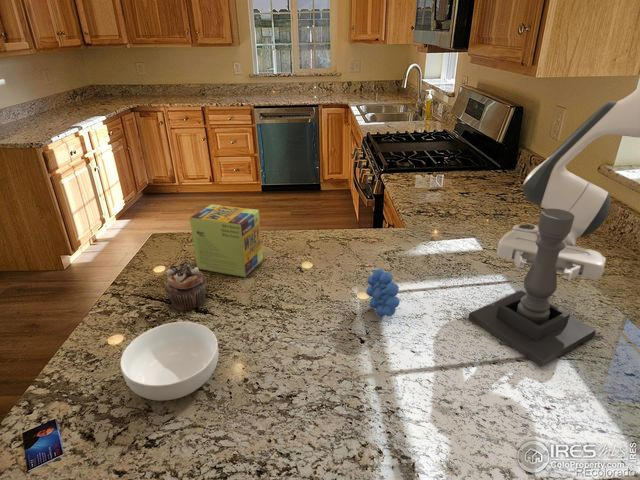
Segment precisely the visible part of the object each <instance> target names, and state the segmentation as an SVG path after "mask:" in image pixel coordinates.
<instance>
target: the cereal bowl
mask: <svg viewBox="0 0 640 480" xmlns="http://www.w3.org/2000/svg"><path fill="white" fill-rule="evenodd" d="M219 355H220V353H219V342H218V340H217V336H216V335H215V334H214V332H213V331H212V330H211V329H210V328H209V327H207V326H206V325H203V324H201V323H198V322H193V321H175V322H168V323H164V324H161V325H158V326H155V327H153V328H150V329H148V330H145V332H143V333H141V334H139V335H138V336H137V337H135V338H134V339H133V340H132V341H131V342H130V343H129V344H128V345H126V348H125V349H124V351H123V352H122V354H121V357H120V364H119V365H120V366H119V367H120V371H121V374H122V378H123V379H124V381H125V383H126V385H127V386H128V387H129V389H130V390H131V391H132V392H133V393H135V395H136V394H137V395H138V396H140V397H142V398H144V399H147V400H152V401H157V402H158V401H160V402H161V401H172V400H177V399H180V398H183V397H186V396H188V395H190V394H192V393H194V392H196V391H197V390H199V389H200V388H201V387H202V386H203V385H205V383H206V382H207V381H208V380H209V379H210V378H211V376H212V375H213V374H214V372H215V370H216V368H217V365H218V362H219Z"/></svg>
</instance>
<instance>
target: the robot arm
mask: <svg viewBox="0 0 640 480" xmlns="http://www.w3.org/2000/svg"><path fill="white" fill-rule="evenodd" d="M607 136H621V137H631V138H639V139H640V85H639V86H638V87H637V88H636V89H635V90H634V91H633V92H631V93H630V94H628V95H627V96H625V97H623V98H622V99H620V100H618V101H617V100H613V101H611V100H610V101H607V103H605V104H603V105H602V106H601V107H599V108H598V109H597V110H596V111H594V113H593V114H591V115H590V116H589V117H588V118H587V119H586V120H585V121H584V122H582V123H581V124H580V125H579V126H578V127H577V128H576V129H575V130H574V131H573V132H572V133H571V134H570V135H569V136H568V138H566V139H565V140H564V141H563V142H562V144H560V145H559V146H558V147H557V148H556V149H555V150H554V151H553V153H552V154H551V155H550V156H548V157H547V158H546V159H545V160H544V161H542V162H540V164H538V165H537V166H536V167H534V168H533V169H532V170H531V171H530V172H529V173H528V174H527V176H526V177H525V179H524V181H523V184H522V185H521V188H522V192H523V195H524V198H525V200H526V201H527V202H529V203H531V204H533V205H535V206H538V207H541V208H543V209H560V210H565V211H567V212H570V213H572V214H573V215H574V221H573V224H572V228H571V232H570V233H569V234H568V236H567V237H566V238H565V239H564V240H563V242H564V243H565V248H564V249H563V250H561V251H560V252H559V256H558V259H557V263H556V272H558V273H562V277H561V279H562V280H564V281H568V282H571V280H572V278H576V277H580V278H583V279H588V280H592V281H597V280H601V279H602V276H603V273H604V270H605V267H606V266H605V265H606V262H607V259H606V257H605V256H603V254H602V253H600V252H599V251H597V250H595V249H589V248H585V247H580V246H576V245H577V239H578V238H584V237H587V236H590V235H592V234H593V233H595V232H596V231H597V230H598V229H599V228H600V227H601V225H602V224H603V223H604V222H605V221H606V219H607V217H608V216H609V213H610V211H611V208H612V198H611V194H610V192H609V191H607V190H605V189H603V188H602V187H600V186H598V185H596V184H594V183H592V182H591V181H588V180H586V179H584V178H582V177H581V176H579V175H576V174H574V173H573V172H571V171H570V170H568V169H567V168H566V166H567V165H568V164H569V163H570V162H571V161H572V160H573V159H574V158H575V157H576V156H578V155H579V154H580V153H581V152H582V151H583V150H584V149H585V148H586V147H587V146H588V145H589V144H591V143H592V142H593V141H595V140H596V139H599V138H602V137H607ZM538 229H539V228H538V224H534V225H527V224H515V225H513V227H512V230H509V231H507V232H506V233H505V234H504V235H503V236H502V237H501V238H500V240H499V241H498V243H497V249H496V256H497V257H498V258H500V259H503V260H508V261H512V262H514V264H516V269H520V270H525V269H526V265H529V266H532V264H533V262H534V261H535V258H536V254H537V249H538V246H537V245H536V239H537V238H539V237H540V233H539V230H538Z"/></svg>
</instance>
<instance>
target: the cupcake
mask: <svg viewBox="0 0 640 480" xmlns="http://www.w3.org/2000/svg"><path fill="white" fill-rule="evenodd" d="M166 275H167V276H166V282H165V285H164V287H163V288H164V291H165V294H167V296H168V298H169V301H170V303H171V306H172V307H174V308H175V309H177V310H179V311H180V310H181V311H189V310H194V309H197V308H198V307H200V306H202V305H203V304H204V303H205V301H206V292H207V291H206V289H207V279H206V277H205V276H204V274H203V272H202V271H200V269H198V268H197V266H190V265H189V264H188V262H187V261H184V262H183V263H181V264H179V265H173V266H169V268H168V269H167V270H166Z"/></svg>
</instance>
